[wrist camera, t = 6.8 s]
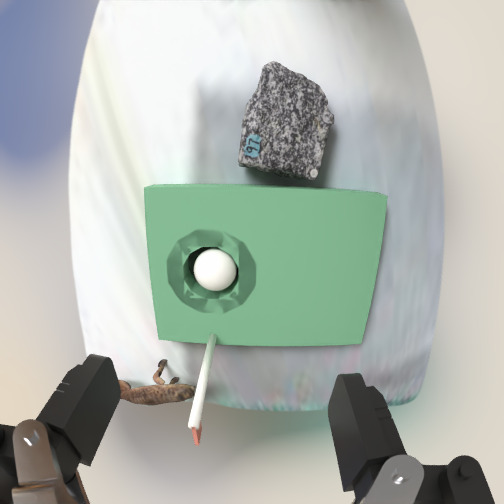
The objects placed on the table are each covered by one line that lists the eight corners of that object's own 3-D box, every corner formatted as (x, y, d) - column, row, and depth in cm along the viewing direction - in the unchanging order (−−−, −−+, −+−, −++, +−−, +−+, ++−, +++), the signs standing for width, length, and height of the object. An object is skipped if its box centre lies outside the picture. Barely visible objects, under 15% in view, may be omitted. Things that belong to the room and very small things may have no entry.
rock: (339, 92, 24) (353, 82, 20) (307, 187, 27) (316, 192, 23) (263, 65, 23) (265, 50, 19) (231, 162, 26) (226, 163, 22)
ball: (186, 248, 26) (228, 251, 25) (205, 245, 30) (243, 248, 29) (186, 292, 26) (226, 297, 25) (204, 284, 30) (241, 288, 29)
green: (153, 184, 27) (144, 187, 24) (377, 192, 27) (387, 196, 24) (164, 327, 32) (158, 339, 30) (355, 331, 32) (361, 343, 29)
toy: (154, 367, 41) (214, 398, 30) (114, 400, 35) (162, 447, 25) (136, 339, 39) (192, 365, 29) (92, 373, 34) (132, 417, 23)
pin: (209, 332, 29) (187, 423, 18) (216, 333, 29) (198, 424, 18) (210, 355, 30) (192, 444, 19) (217, 355, 30) (202, 445, 19)
